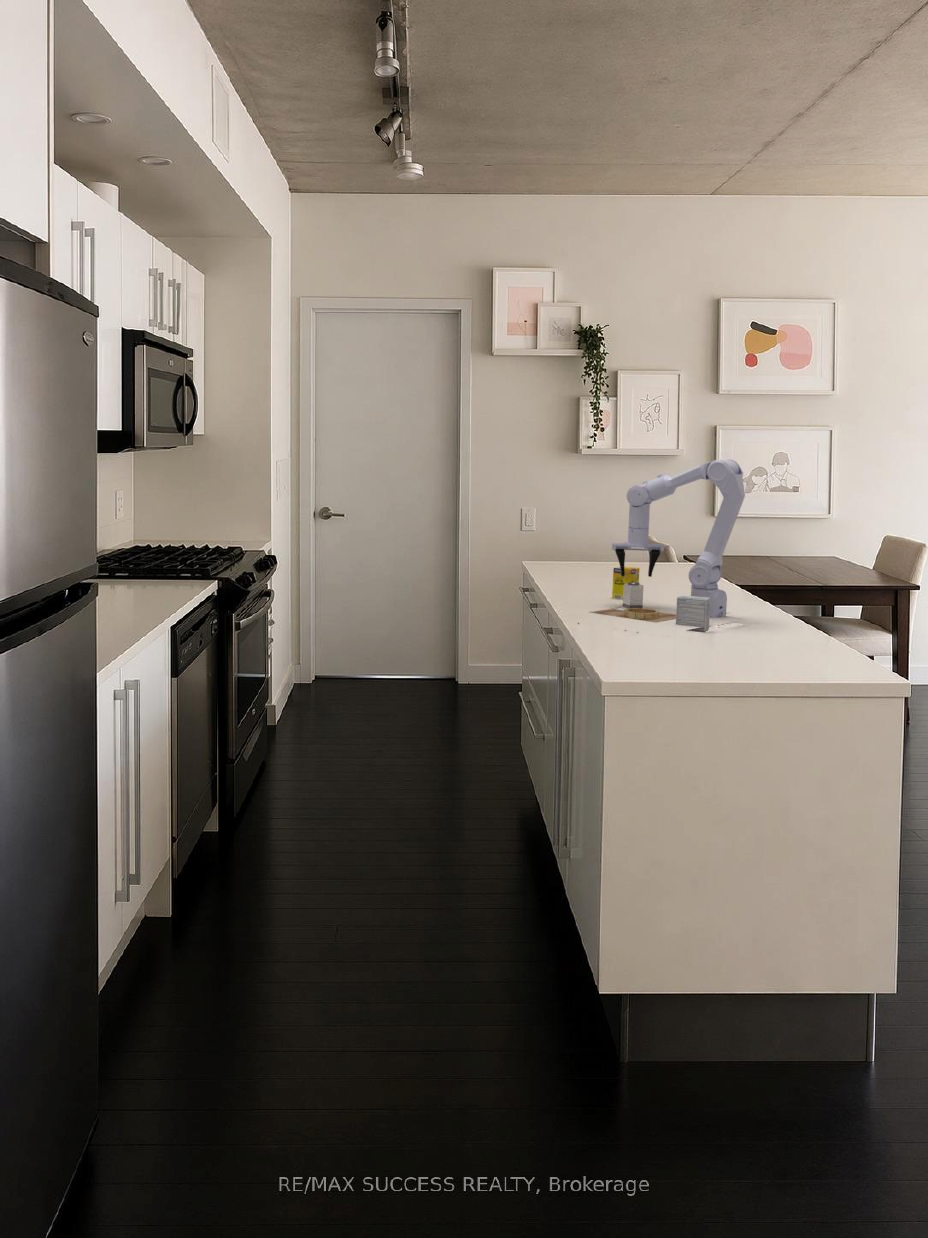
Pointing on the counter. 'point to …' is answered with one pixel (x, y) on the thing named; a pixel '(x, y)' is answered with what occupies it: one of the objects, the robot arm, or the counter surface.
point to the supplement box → (623, 580)
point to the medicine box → (693, 612)
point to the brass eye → (641, 613)
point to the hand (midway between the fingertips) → (636, 575)
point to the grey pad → (619, 609)
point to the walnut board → (621, 614)
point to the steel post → (632, 595)
